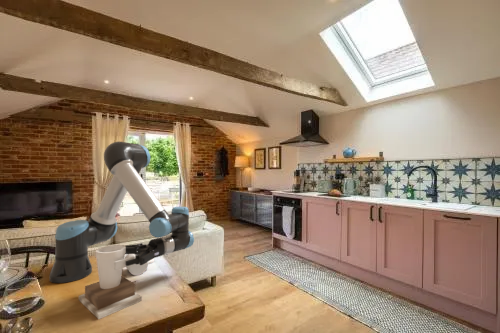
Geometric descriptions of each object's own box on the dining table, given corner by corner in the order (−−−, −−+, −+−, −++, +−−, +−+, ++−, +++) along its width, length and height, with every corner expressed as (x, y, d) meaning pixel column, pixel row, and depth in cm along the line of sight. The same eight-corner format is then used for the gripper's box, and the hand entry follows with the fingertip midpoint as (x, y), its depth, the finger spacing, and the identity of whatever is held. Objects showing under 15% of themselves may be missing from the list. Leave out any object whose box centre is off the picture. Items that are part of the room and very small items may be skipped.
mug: (129, 277, 105) (129, 259, 105) (123, 270, 113) (123, 253, 113) (156, 270, 113) (157, 253, 113) (149, 264, 121) (150, 248, 121)
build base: (78, 300, 87) (79, 284, 87) (119, 285, 98) (119, 272, 98) (98, 319, 76) (98, 301, 76) (141, 300, 87) (141, 285, 87)
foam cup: (95, 293, 80) (96, 254, 81) (94, 283, 88) (95, 247, 88) (127, 286, 86) (127, 249, 86) (123, 276, 94) (123, 243, 94)
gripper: (178, 262, 95) (122, 281, 78) (145, 249, 110) (93, 263, 93) (178, 243, 95) (122, 258, 78) (145, 232, 110) (93, 243, 93)
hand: (106, 261), depth 86 cm, fingers open, 13 cm apart
